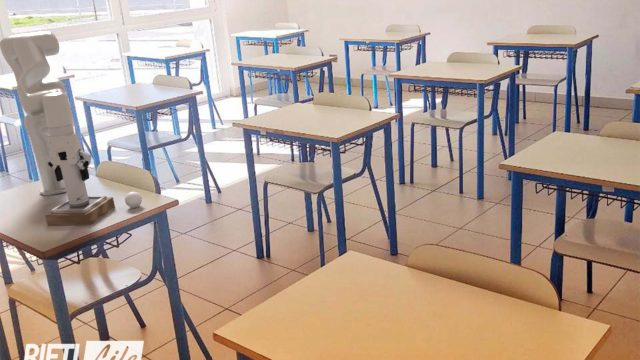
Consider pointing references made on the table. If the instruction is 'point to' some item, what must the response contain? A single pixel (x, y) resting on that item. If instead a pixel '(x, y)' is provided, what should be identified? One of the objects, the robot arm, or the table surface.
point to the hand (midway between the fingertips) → (73, 179)
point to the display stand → (80, 212)
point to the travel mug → (73, 182)
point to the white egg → (133, 199)
